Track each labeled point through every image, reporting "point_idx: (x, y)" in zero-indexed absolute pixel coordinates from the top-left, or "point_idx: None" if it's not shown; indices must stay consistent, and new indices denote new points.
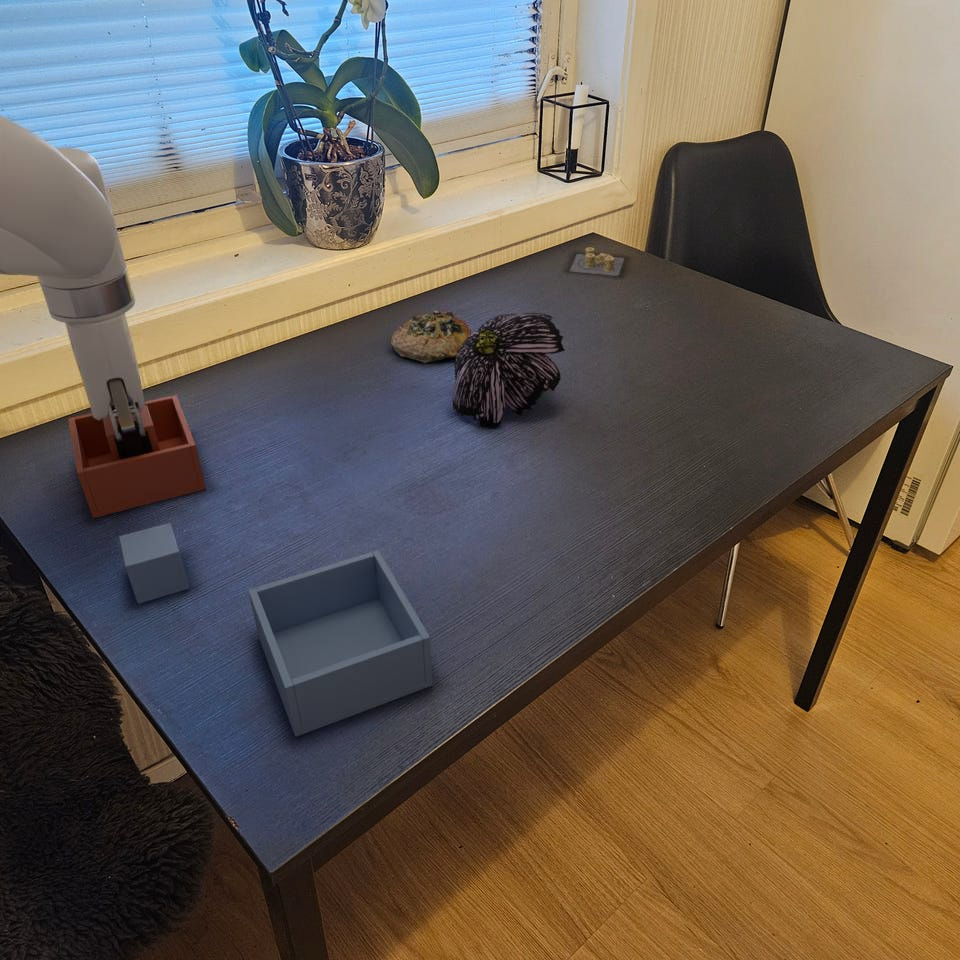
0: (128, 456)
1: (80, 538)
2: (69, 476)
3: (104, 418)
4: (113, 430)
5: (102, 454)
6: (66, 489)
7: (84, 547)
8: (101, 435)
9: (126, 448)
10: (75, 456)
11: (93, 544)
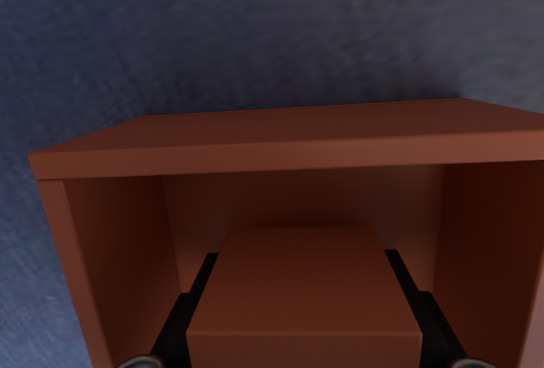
0: (170, 316)
1: (62, 79)
2: (394, 52)
3: (369, 341)
4: (226, 362)
5: (447, 164)
6: (321, 41)
7: (22, 88)
8: (480, 205)
9: (154, 346)
10: (172, 151)
11: (31, 111)
